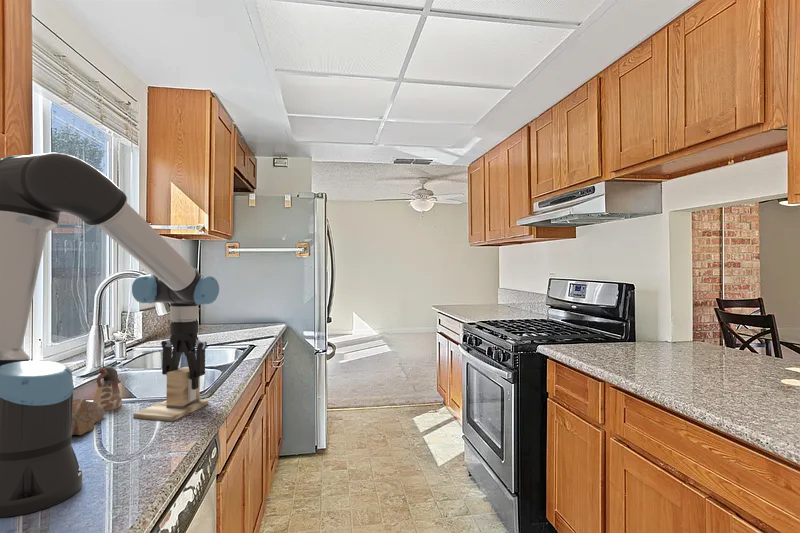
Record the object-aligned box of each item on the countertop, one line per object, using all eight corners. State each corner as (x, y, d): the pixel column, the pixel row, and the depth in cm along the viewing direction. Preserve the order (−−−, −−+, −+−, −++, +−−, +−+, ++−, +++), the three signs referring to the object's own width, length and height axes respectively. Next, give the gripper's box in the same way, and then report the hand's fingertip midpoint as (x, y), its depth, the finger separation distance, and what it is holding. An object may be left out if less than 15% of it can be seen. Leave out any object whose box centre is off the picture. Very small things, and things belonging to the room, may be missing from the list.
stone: (86, 431, 109) (77, 392, 112) (43, 448, 106) (34, 407, 109) (112, 432, 125) (103, 397, 128) (76, 447, 122) (67, 411, 125)
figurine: (126, 406, 135) (127, 365, 135) (100, 412, 129) (100, 370, 129) (114, 402, 139) (115, 362, 139) (88, 407, 133) (89, 366, 133)
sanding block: (181, 409, 129) (182, 373, 129) (166, 407, 130) (166, 372, 130) (199, 400, 137) (199, 367, 137) (184, 399, 138) (185, 366, 138)
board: (172, 421, 122) (172, 416, 122) (133, 417, 125) (133, 413, 125) (208, 404, 138) (208, 400, 138) (173, 401, 140) (173, 397, 140)
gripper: (219, 319, 136) (218, 398, 135) (166, 317, 139) (164, 394, 139) (204, 322, 128) (202, 405, 128) (148, 320, 132) (146, 401, 132)
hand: (183, 399), depth 133 cm, fingers closed on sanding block, 5 cm apart
